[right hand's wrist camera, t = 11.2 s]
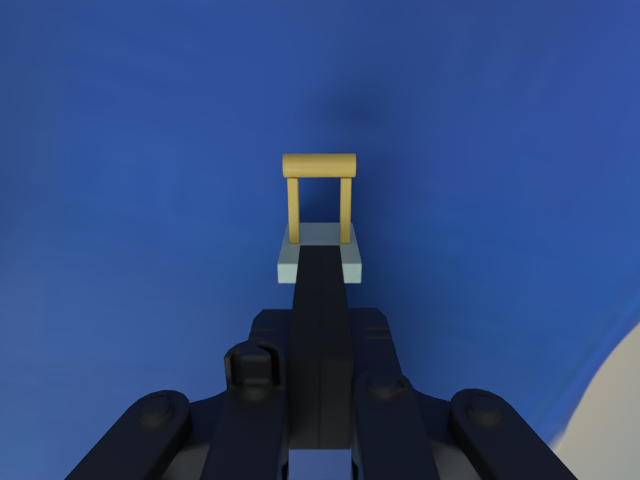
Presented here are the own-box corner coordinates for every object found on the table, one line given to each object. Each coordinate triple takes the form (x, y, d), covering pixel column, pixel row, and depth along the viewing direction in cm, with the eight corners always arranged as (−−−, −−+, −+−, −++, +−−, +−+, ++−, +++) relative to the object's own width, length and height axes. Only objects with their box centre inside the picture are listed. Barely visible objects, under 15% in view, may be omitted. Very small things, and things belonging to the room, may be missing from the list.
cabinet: (284, 332, 31) (272, 416, 24) (355, 332, 31) (367, 416, 24) (291, 498, 39) (284, 604, 31) (349, 498, 39) (357, 604, 31)
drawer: (284, 144, 25) (272, 164, 19) (354, 144, 25) (366, 164, 19) (293, 422, 34) (288, 497, 28) (346, 422, 34) (352, 497, 28)
